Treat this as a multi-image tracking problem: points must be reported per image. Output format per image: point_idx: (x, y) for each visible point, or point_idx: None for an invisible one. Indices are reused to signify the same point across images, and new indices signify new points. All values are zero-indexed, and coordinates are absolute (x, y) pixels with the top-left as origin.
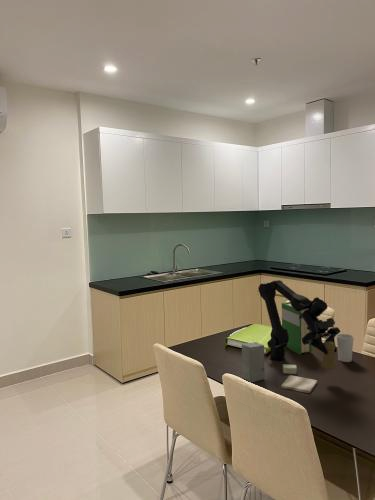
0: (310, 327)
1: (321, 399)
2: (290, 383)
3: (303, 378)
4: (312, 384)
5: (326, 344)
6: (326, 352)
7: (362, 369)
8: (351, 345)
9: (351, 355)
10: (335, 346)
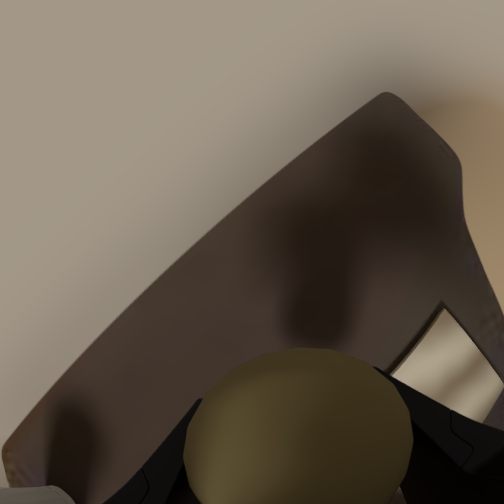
0: None
1: (418, 253)
2: (476, 397)
3: None
4: (406, 370)
5: (407, 413)
6: (383, 375)
7: (60, 416)
8: (4, 489)
9: (35, 487)
10: (221, 380)
